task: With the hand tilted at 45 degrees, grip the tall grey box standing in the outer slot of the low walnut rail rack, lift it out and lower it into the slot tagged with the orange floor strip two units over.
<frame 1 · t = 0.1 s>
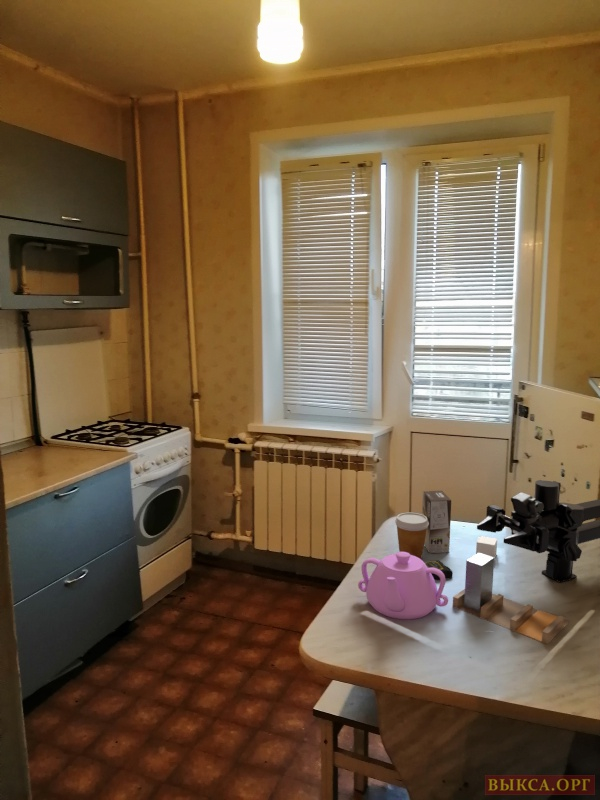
hand: (490, 533, 150), 17 cm above the table, fingers open, 9 cm apart
tape measure: (437, 578, 164), on the table
cream white cube: (486, 557, 176), on the table
coffee box: (434, 547, 183), on the table
rail rack: (506, 620, 142), on the table
disposable coffee cup: (410, 558, 176), on the table
teapot: (399, 612, 146), on the table
tall grey box: (477, 605, 147), point 1 cm above the table, touching rail rack
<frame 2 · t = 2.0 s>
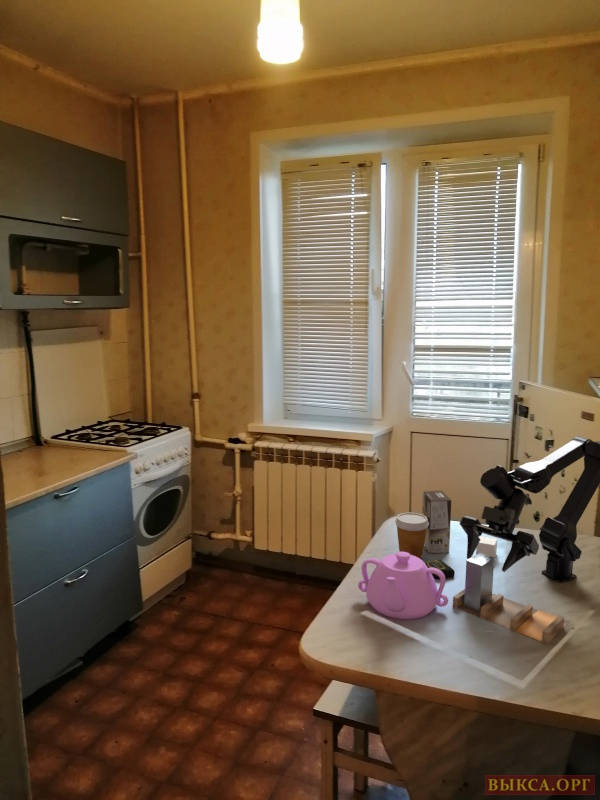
hand: (485, 564, 147), 10 cm above the table, fingers open, 9 cm apart
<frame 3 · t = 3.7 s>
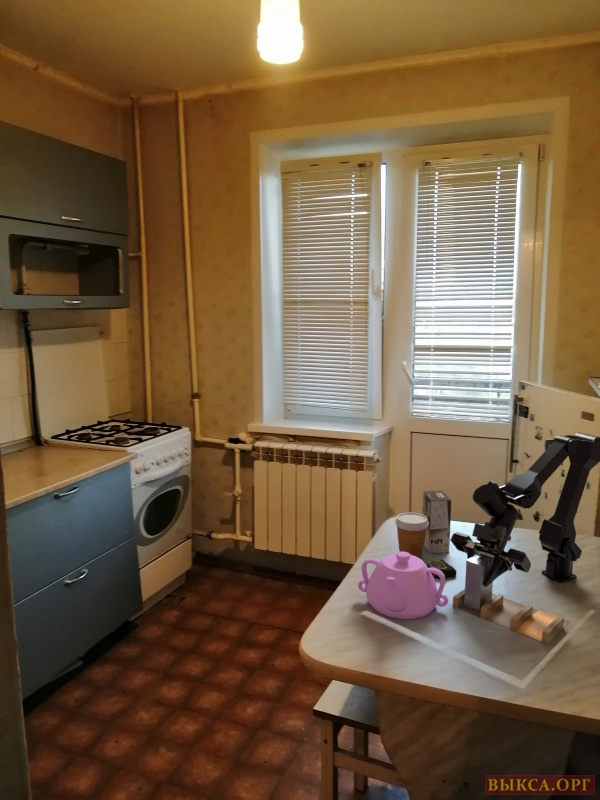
hand: (476, 583, 144), 7 cm above the table, fingers closed on tall grey box, 4 cm apart
tall grey box: (477, 605, 147), point 1 cm above the table, touching gripper, rail rack
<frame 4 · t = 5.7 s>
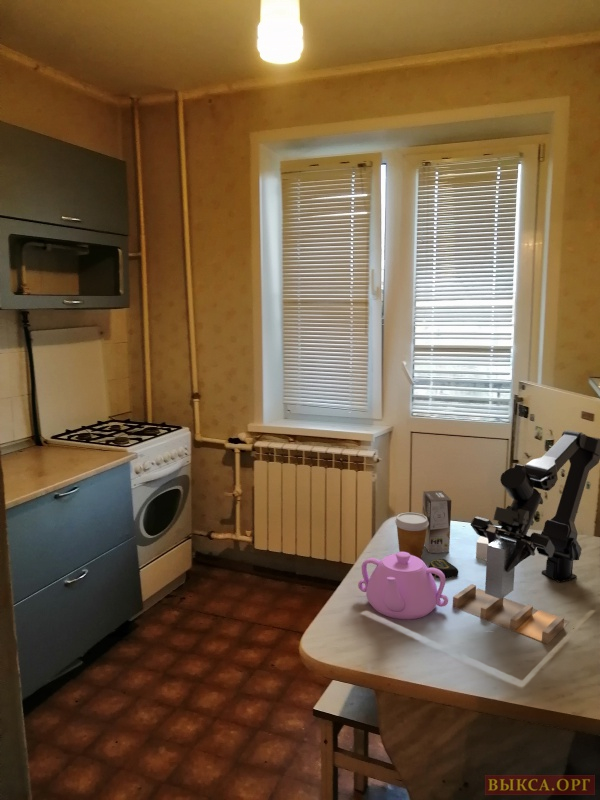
hand: (497, 568, 140), 13 cm above the table, fingers closed on tall grey box, 4 cm apart
tall grey box: (499, 591, 142), point 6 cm above the table, touching gripper
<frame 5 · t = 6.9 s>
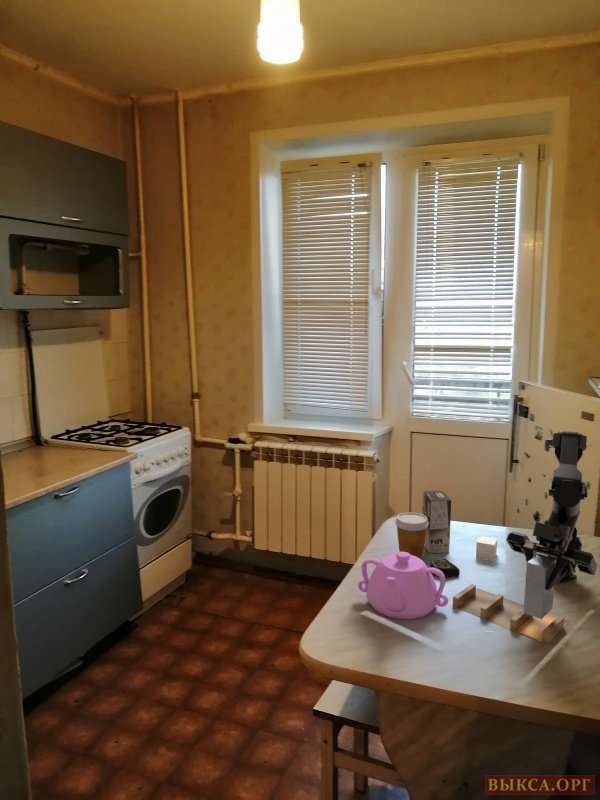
hand: (537, 586, 134), 12 cm above the table, fingers closed on tall grey box, 4 cm apart
tall grey box: (538, 610, 136), point 5 cm above the table, touching gripper
when the fingers open (9 cm above the table, at t = 7.7 s): tall grey box drops 1 cm, resting on rail rack.
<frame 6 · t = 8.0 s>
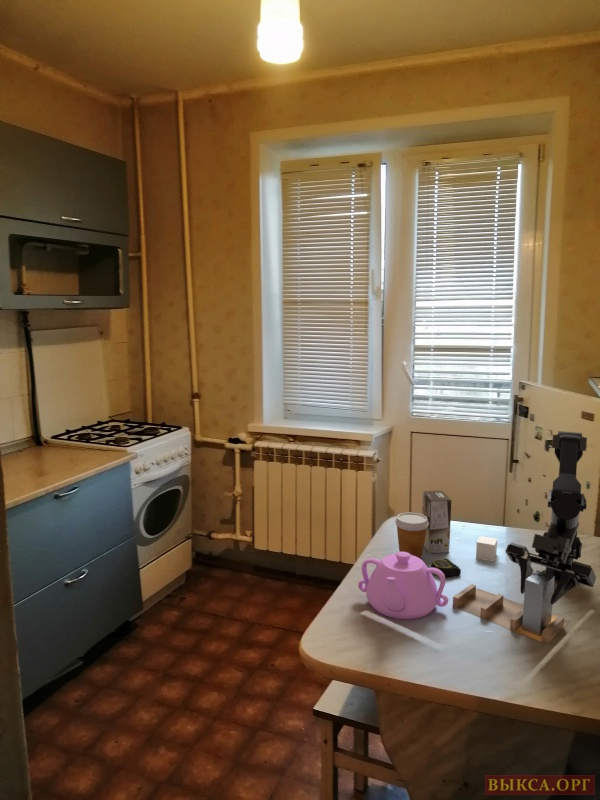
hand: (536, 598, 134), 9 cm above the table, fingers open, 6 cm apart
tall grey box: (536, 627, 137), point 1 cm above the table, touching rail rack
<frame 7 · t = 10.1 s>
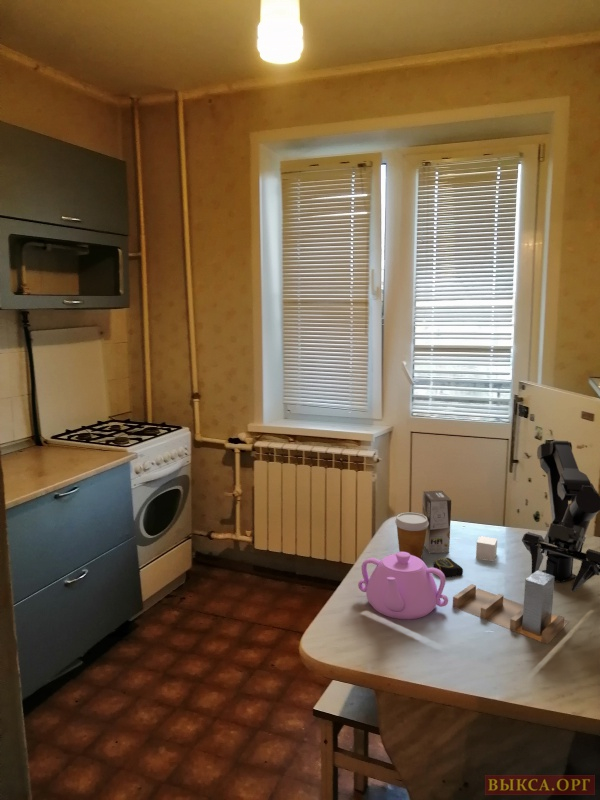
hand: (552, 584, 141), 9 cm above the table, fingers open, 9 cm apart
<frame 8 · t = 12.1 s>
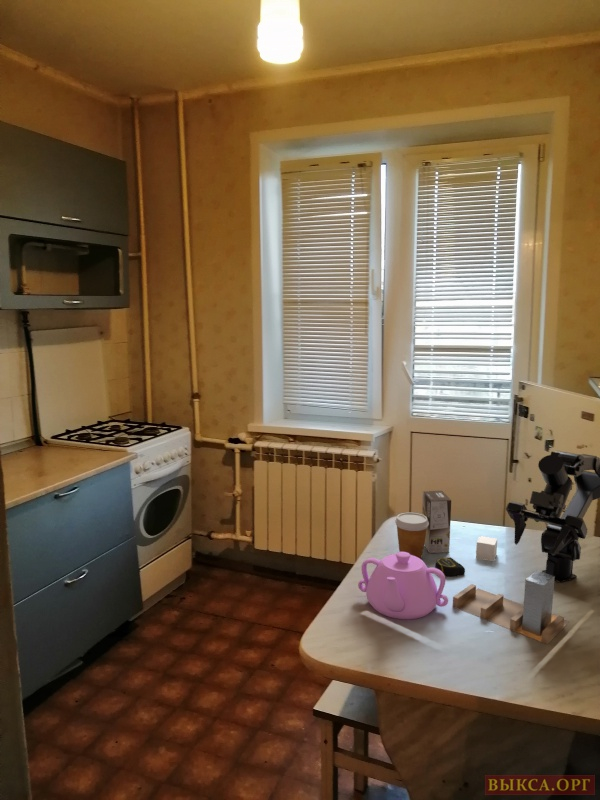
hand: (533, 549, 148), 14 cm above the table, fingers open, 9 cm apart
at the end: tall grey box 0.1 cm from the target spot, point 1.2 cm above the table; tall grey box tilted 0°; the gripper is holding nothing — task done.
